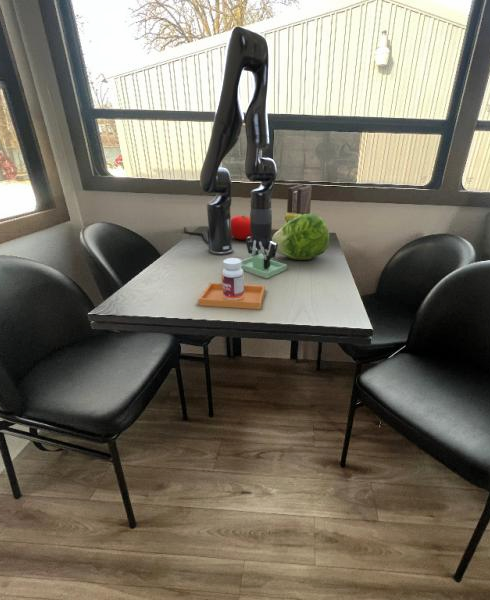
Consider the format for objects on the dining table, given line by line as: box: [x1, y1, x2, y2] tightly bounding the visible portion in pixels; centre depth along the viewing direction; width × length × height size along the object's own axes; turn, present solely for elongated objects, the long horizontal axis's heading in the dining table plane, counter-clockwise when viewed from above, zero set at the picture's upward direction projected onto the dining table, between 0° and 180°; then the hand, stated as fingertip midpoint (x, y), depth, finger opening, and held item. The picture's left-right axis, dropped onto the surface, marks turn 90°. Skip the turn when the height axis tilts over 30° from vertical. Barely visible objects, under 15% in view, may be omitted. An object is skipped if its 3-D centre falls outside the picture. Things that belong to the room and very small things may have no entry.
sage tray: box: [240, 256, 288, 279], centre depth 111 cm, size 16×12×2 cm
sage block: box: [252, 252, 264, 270], centre depth 110 cm, size 4×4×4 cm
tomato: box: [231, 215, 252, 241], centre depth 144 cm, size 12×14×11 cm
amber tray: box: [197, 282, 266, 310], centre depth 88 cm, size 18×12×2 cm, turn 87°
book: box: [284, 184, 313, 223], centre depth 144 cm, size 22×8×25 cm, turn 160°
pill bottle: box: [221, 257, 245, 300], centre depth 86 cm, size 6×6×11 cm
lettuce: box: [271, 213, 330, 261], centre depth 120 cm, size 19×23×18 cm
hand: (261, 266), depth 111 cm, fingers closed on sage block, 4 cm apart
